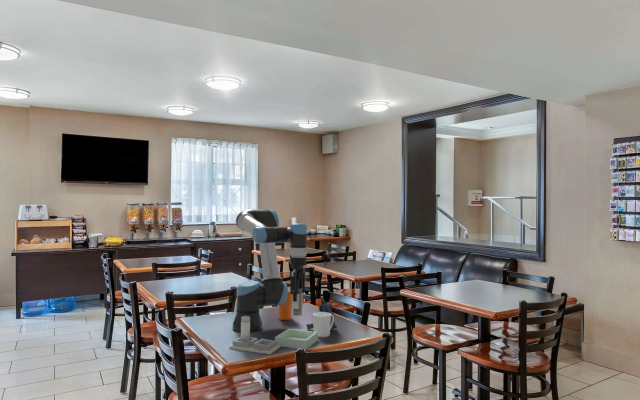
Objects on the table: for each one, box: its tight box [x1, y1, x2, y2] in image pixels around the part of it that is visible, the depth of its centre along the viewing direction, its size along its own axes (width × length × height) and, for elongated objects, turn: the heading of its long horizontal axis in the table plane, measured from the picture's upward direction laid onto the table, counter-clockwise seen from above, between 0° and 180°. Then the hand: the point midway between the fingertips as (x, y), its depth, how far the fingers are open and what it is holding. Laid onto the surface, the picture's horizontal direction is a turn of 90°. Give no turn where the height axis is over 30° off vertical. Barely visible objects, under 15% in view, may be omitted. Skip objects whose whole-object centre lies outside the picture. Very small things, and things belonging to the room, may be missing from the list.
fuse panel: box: [228, 336, 281, 355], centre depth 187 cm, size 20×10×3 cm, turn 69°
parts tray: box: [274, 328, 319, 350], centre depth 195 cm, size 15×15×4 cm
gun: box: [306, 296, 338, 331], centre depth 218 cm, size 3×17×15 cm
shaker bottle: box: [277, 281, 293, 321], centre depth 240 cm, size 9×9×20 cm
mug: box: [312, 311, 335, 338], centre depth 209 cm, size 11×9×10 cm
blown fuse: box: [292, 288, 303, 317], centre depth 196 cm, size 4×4×12 cm
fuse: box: [240, 316, 251, 342], centre depth 189 cm, size 4×4×12 cm
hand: (297, 307), depth 196 cm, fingers closed on blown fuse, 4 cm apart
